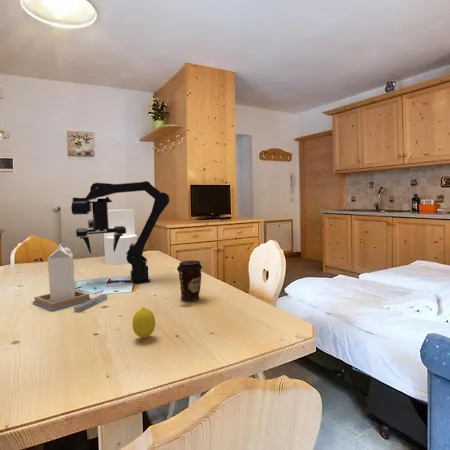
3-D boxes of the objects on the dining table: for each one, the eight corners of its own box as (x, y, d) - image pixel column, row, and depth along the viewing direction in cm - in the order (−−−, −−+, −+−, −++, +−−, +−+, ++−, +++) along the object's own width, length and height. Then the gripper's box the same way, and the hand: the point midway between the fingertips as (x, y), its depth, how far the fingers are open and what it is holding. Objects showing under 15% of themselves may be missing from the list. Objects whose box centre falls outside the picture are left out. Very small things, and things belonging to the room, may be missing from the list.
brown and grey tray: (71, 294, 125) (70, 288, 125) (91, 300, 117) (91, 294, 116) (32, 304, 114) (32, 297, 114) (52, 311, 106) (51, 304, 106)
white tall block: (99, 261, 186) (97, 210, 183) (128, 257, 198) (126, 209, 195) (113, 266, 173) (110, 211, 171) (143, 261, 185) (141, 209, 182)
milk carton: (50, 304, 111) (46, 246, 109) (53, 298, 118) (49, 243, 116) (74, 301, 114) (70, 245, 112) (75, 295, 120) (72, 242, 118)
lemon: (135, 334, 87) (133, 304, 87) (157, 333, 88) (155, 303, 87) (131, 344, 82) (129, 312, 81) (154, 342, 82) (153, 310, 81)
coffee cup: (207, 297, 118) (206, 260, 117) (197, 304, 110) (196, 265, 109) (184, 295, 121) (183, 259, 119) (173, 302, 113) (172, 264, 112)
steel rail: (102, 298, 119) (102, 294, 119) (107, 298, 118) (107, 294, 118) (74, 311, 106) (74, 307, 105) (79, 312, 105) (79, 307, 105)
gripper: (121, 212, 148) (122, 247, 149) (74, 214, 140) (76, 251, 141) (125, 213, 138) (127, 251, 139) (75, 215, 130) (77, 255, 131)
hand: (102, 252), depth 138 cm, fingers open, 9 cm apart
